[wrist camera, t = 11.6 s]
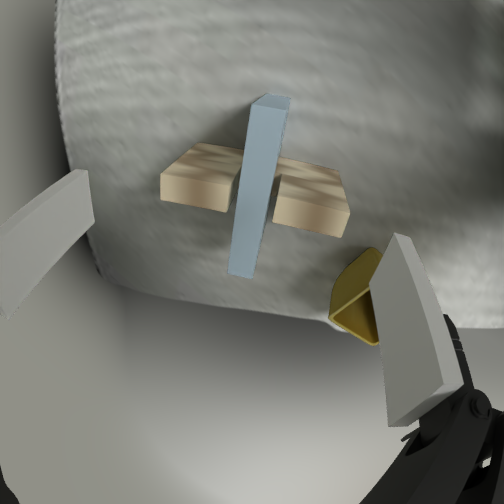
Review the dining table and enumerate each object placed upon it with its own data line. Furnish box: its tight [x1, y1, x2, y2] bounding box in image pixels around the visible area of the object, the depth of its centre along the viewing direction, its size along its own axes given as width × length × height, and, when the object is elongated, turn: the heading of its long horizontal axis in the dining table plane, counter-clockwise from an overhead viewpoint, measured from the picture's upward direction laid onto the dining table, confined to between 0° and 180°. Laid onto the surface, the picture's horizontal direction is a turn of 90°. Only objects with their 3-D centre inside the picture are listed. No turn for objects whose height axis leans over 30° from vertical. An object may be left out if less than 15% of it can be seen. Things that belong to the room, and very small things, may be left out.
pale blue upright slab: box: [227, 94, 291, 279], centre depth 27 cm, size 16×2×10 cm, turn 171°
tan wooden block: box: [160, 143, 350, 238], centre depth 27 cm, size 16×2×10 cm, turn 81°
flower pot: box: [328, 247, 383, 346], centre depth 34 cm, size 9×9×9 cm
